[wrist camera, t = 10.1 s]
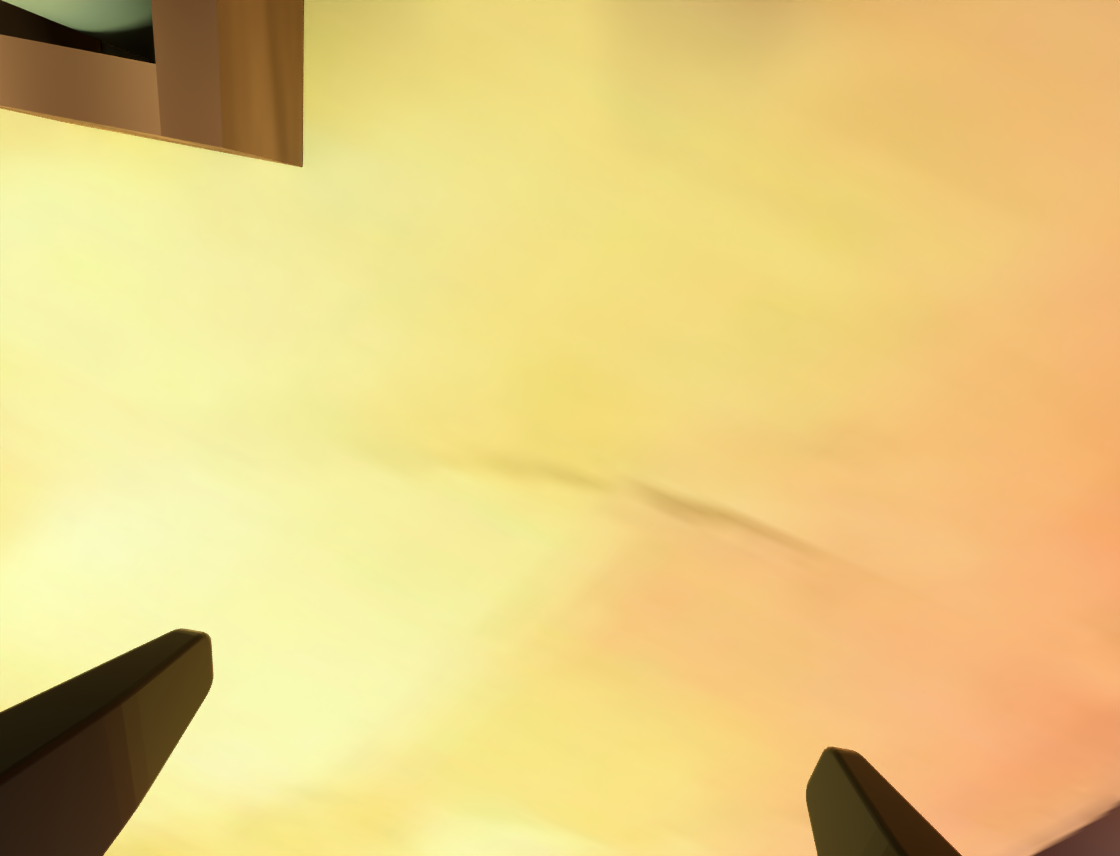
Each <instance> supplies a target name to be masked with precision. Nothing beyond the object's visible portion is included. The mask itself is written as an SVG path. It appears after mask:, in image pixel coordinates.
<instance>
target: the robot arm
mask: <svg viewBox="0 0 1120 856" xmlns="http://www.w3.org/2000/svg"><path fill="white" fill-rule="evenodd" d="M212 681H213V661H212V645H211V638H210V636H209V635H208V634H207V633H205V632H200V631H194V630H189V629H176V630H173V631H171V632H169V633H166V634H164V635H162V636H160V637H158V638H156V639H154V640H152V641H150V642H147V643H145V644H143V645H141V646H139V647H137V648H135V649H133V650H131V651H128V652H126V653H124V654H122V655H120V656H118V657H116V658H114V659H112V660H109V661H107V662H105V663H103V664H101V665H99V666H97V667H95V668H93V669H91V670H88V671H86V672H84V673H82V674H80V675H78V676H76V677H74V678H72V679H69V680H67V681H65V682H63V683H61V684H59V685H57V686H55V687H53V688H50V689H48V690H46V691H44V692H42V693H40V694H38V695H36V696H34V697H31V698H29V699H27V700H25V701H23V702H21V703H19V704H17V705H15V706H12V707H10V708H8V709H6V710H4V711H2V712H0V856H103V855H104V854H105V852H106V851H107V850H108V848H109V847H110V845H111V844H112V843H113V841H114V840H115V839H116V837H117V836H118V835H119V833H120V832H121V830H122V829H123V828H124V826H125V825H126V823H127V822H128V821H129V819H130V818H131V816H132V815H133V813H134V812H135V811H136V809H137V808H138V806H139V805H140V803H141V802H142V800H143V798H144V797H145V795H146V794H147V792H148V791H149V789H150V788H151V786H152V784H153V783H154V781H155V779H156V778H157V776H158V774H159V773H160V771H161V770H162V768H163V766H164V765H165V763H166V761H167V760H168V758H169V756H170V755H171V753H172V752H173V750H174V748H175V747H176V745H177V743H178V742H179V740H180V739H181V737H182V735H183V734H184V732H185V730H186V729H187V727H188V725H189V724H190V722H191V721H192V719H193V717H194V716H195V714H196V712H197V711H198V709H199V707H200V706H201V704H202V703H203V701H204V699H205V698H206V696H207V694H208V692H209V690H210V688H211V685H212ZM806 802H807V807H808V812H809V817H810V822H811V826H812V831H813V836H814V841H815V845H816V850H817V855H818V856H962V855H961V854H960V853H959V852H958V851H957V850H956V849H955V848H954V847H953V846H952V845H951V844H950V843H949V842H948V841H947V840H946V839H945V838H944V837H943V836H942V835H941V834H940V833H939V832H938V831H937V830H936V829H935V828H934V827H933V826H932V825H931V824H930V823H929V822H928V821H927V820H926V819H925V818H924V817H923V816H922V815H921V814H920V813H919V812H918V811H917V810H916V809H915V808H914V807H913V806H912V805H911V804H910V803H909V802H908V801H907V800H906V799H905V798H904V797H903V796H902V795H901V794H900V793H899V792H898V791H897V790H896V789H895V788H894V787H893V786H892V785H891V784H890V783H889V782H888V781H887V780H886V779H885V778H884V777H883V776H882V775H881V774H880V773H879V772H878V771H877V770H876V769H875V768H874V767H873V766H872V765H871V764H870V763H869V762H868V761H867V760H866V759H865V758H864V757H863V756H861V755H860V754H859V753H857V752H855V751H853V750H848V749H842V748H837V747H828V748H826V749H825V750H824V751H823V753H822V755H821V757H820V759H819V761H818V763H817V765H816V767H815V769H814V771H813V773H812V775H811V777H810V779H809V781H808V784H807V789H806Z"/></svg>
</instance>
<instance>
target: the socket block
mask: <svg viewBox="0 0 1120 856" xmlns="http://www.w3.org/2000/svg"><path fill="white" fill-rule="evenodd" d="M151 8H152V21H153V34H154V47H155V60H156V64H153V63H148V62H143V61H137V60H132V59H127V58H122V57H116V56H111V55H106V54H102V51H101V42H100V40H99V39H96V38H94V37H91V36H89V35H87V34H84V33H82V32H79V31H77V30H74V29H72V28H69V27H67V26H64V25H62V24H59V23H57V22H54V21H52V20H49V19H47V18H44V17H42V16H39V15H37V14H35V13H32V12H30V11H27V10H25V9H22V8H20V7H17V6H15V5H12V4H10V3H7V2H5V1H2V0H0V108H2V109H6V110H11V111H16V112H20V113H25V114H29V115H34V116H38V117H43V118H47V119H52V120H56V121H61V122H66V123H71V124H77V125H82V126H87V127H93V128H98V129H103V130H108V131H114V132H119V133H124V134H130V135H135V136H140V137H145V138H151V139H156V140H161V141H167V142H172V143H177V144H182V145H188V146H193V147H198V148H204V149H209V150H214V151H219V152H225V153H230V154H235V155H241V156H246V157H251V158H256V159H262V160H267V161H272V162H278V163H283V164H288V165H293V166H299V167H302V154H303V0H151Z"/></svg>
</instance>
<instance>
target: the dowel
mask: <svg viewBox="0 0 1120 856" xmlns="http://www.w3.org/2000/svg"><path fill="white" fill-rule="evenodd" d="M2 1H5V2H7V3H10V4H12V5H15V6H17V7H20V8H22V9H25V10H27V11H30V12H32V13H35V14H37V15H39V16H42V17H44V18H47V19H49V20H52V21H54V22H57V23H59V24H62V25H64V26H67V27H69V28H72V29H74V30H77V31H79V32H82V33H84V34H87V35H89V36H91V37H94V38H96V39H99V40H101V41H104V42H106V43H109V44H111V45H114V46H116V47H119V48H121V49H124V50H126V51H129V52H131V53H134V54H136V55H138V56H141V57H143V58H146V59H148V60H151V61H153V62H156V60H155V47H154V34H153V21H152V8H151V0H2Z"/></svg>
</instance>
